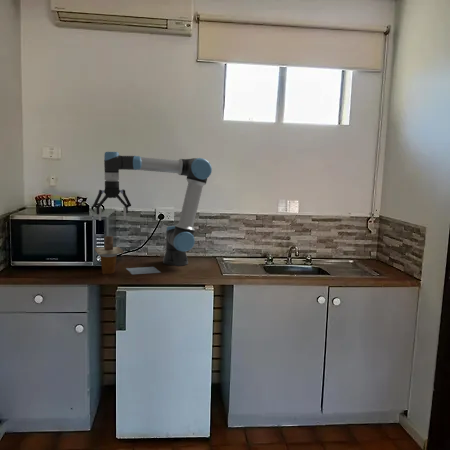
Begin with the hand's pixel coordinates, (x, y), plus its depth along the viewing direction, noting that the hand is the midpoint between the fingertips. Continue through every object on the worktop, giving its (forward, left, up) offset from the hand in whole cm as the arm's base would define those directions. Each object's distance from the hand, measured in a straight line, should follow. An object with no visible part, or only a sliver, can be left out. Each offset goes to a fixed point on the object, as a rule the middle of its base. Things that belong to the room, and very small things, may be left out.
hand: (112, 219), depth 255 cm
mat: (-16, +4, -29) cm, 33 cm away
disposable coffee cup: (+3, +3, -29) cm, 29 cm away
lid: (+3, +3, -17) cm, 17 cm away
